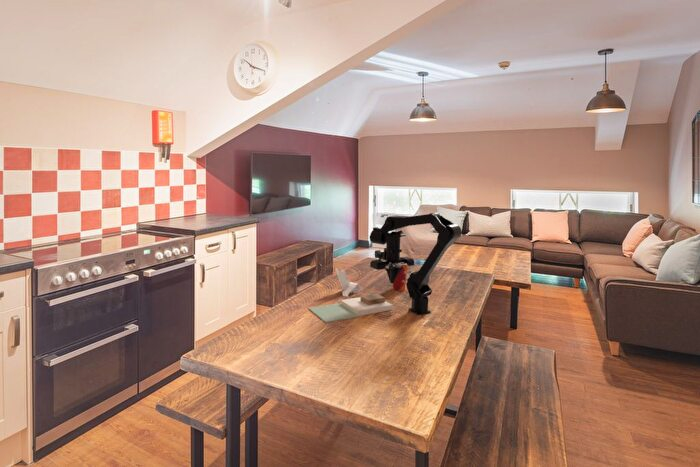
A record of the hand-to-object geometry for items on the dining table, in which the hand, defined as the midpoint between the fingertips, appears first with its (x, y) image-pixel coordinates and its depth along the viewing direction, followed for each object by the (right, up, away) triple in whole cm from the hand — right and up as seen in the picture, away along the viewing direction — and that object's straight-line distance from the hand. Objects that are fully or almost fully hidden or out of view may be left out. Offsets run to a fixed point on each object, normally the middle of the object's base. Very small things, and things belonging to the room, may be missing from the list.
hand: (391, 283), depth 171 cm
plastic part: (-19, -6, +15) cm, 24 cm away
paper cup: (+6, -6, +22) cm, 23 cm away
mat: (-24, -10, -11) cm, 28 cm away
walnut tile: (-8, -7, -3) cm, 11 cm away
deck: (-11, -9, -4) cm, 15 cm away
